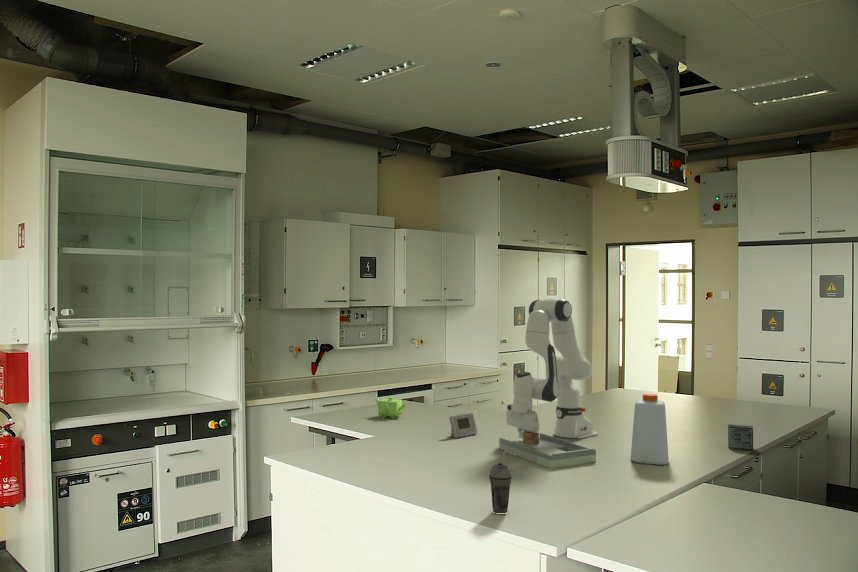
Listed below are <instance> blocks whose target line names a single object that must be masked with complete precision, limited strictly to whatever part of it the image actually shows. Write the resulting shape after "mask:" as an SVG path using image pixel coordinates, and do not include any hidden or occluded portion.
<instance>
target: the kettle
mask: <svg viewBox="0 0 858 572" xmlns="http://www.w3.org/2000/svg"><path fill="white" fill-rule="evenodd" d="M373 400H374V401H375V402H376V406H377V408H378V416H380V417H381V419H386V418H387V417H390V418H391V419H393V420H395V419H396V418H399V416H401V415H402V414H403V410H404V409H405V408H406V407H407V406H408V405H407V404H406V403H403V399H398V398H397V396H396V397H392V396H388V398H382V399H380V400H379V399H378V398H373Z"/></svg>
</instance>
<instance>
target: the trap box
mask: <svg viewBox="0 0 858 572" xmlns="http://www.w3.org/2000/svg"><path fill="white" fill-rule="evenodd" d="M498 440H499V442H498V443H499V447H498V449H501V450H500V451H502V450H505V451H507V452H506V453H508V452H509V453H508V454H510V453H512V454H511V455H513V454H515V455H514V456H516V455H517V456H516V457H519V456H520V457H519V458H521V457H523V458H522V459H524V458H525V460H527V459H528V460H527V461H530V460H531V461H530V462H532V461H534V462H533V463H535V462H536V463H535V464H538V463H539V464H538V465H541V464H542V465H541V466H543V465H545V466H544V467H546V466H547V468H549V467H550V469H556V468H555V467H557V468H562V466H563V467H570V466H575V465H582V464H589V462H590V463H595V462H596V461H597V449H595V448H592V447H588V446H585V445H582V444H578V443H575V442H572V441H569V440H564V439H561V438H557V437H554V436H551V435H548V434H544V433H539V444H536V445H528V444H525V443H523V439H520V440H509V439H505V438H502V437H500V438H499V439H498ZM569 465H570V466H569Z"/></svg>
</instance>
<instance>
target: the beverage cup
mask: <svg viewBox="0 0 858 572" xmlns="http://www.w3.org/2000/svg"><path fill="white" fill-rule="evenodd" d="M502 452H503V453H502V460H501V461H502V462H499V463H495V464H494V465H493V466H492V467H491V469H490V471H489V475H488V476H489V477H488V478H489V481H490V489H491V490H490V491H491V504H492V513H493V512H495V513H506V512H507V513H508V508H509V501H510V500H509V499H510V490H511V483H512V478H513V477H512V471H511V469H510V467H509V466H508V465H507V464H505V455H506V452H505V450H504V451H502Z"/></svg>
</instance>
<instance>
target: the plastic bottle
mask: <svg viewBox="0 0 858 572" xmlns="http://www.w3.org/2000/svg"><path fill="white" fill-rule="evenodd" d="M658 399H659V398H658V394H653V393H643V395H642V398H641V399H636V400H635V403H634V412H633V413H634V414H633V425H632V435H631V447H630V448H631V450H630V460H631V462H634V463H637V464H643V463H644V465H653V464H656V465H655V466H665V465H667V464H669V446H668V444H669V443H668V432H667V431H668V430H667V428H668V427H667V416H666V415H667V414H666V412H667V411H666V403H665V401H663V400H658Z"/></svg>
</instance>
